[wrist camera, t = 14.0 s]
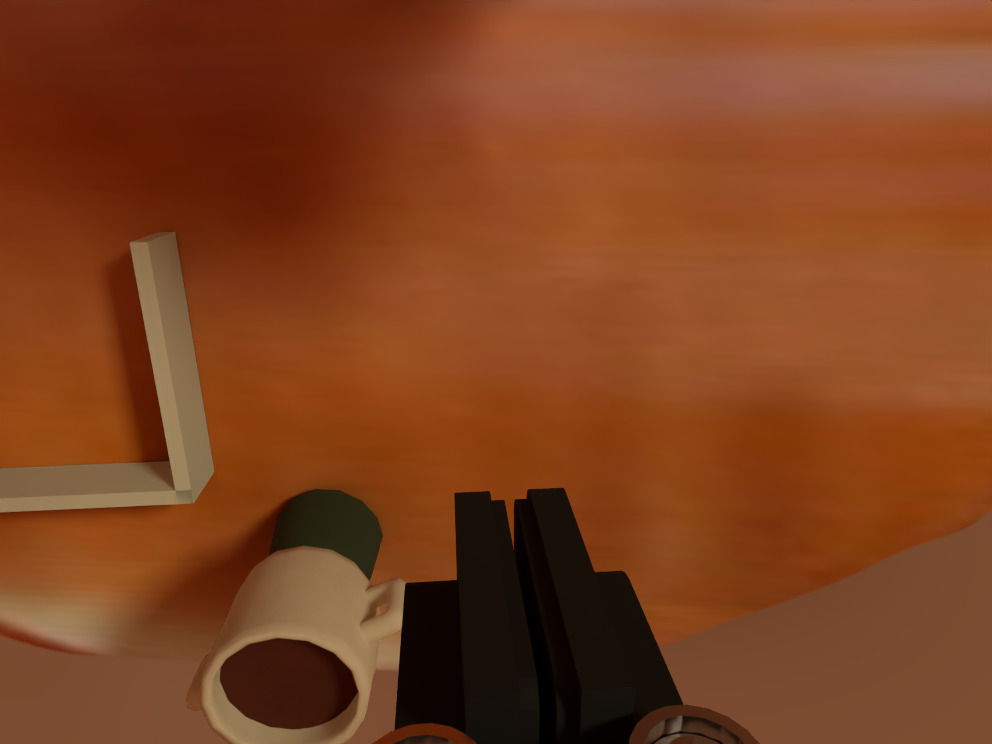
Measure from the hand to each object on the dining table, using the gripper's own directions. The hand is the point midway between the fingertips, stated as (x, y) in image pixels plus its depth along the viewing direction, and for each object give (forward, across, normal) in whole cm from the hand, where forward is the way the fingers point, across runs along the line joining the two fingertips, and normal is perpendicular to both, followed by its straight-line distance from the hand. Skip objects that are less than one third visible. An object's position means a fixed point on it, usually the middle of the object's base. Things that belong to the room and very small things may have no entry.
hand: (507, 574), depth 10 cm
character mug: (+27, +8, +16) cm, 33 cm away
